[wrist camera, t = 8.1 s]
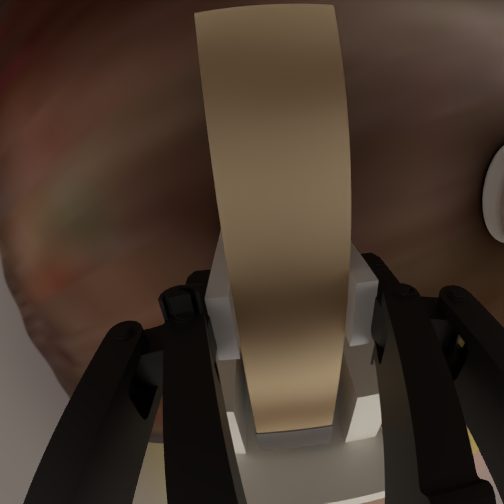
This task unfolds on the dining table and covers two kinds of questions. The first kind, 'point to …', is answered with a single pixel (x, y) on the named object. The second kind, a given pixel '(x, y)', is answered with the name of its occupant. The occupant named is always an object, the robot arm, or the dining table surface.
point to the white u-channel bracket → (313, 456)
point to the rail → (282, 204)
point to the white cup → (494, 197)
